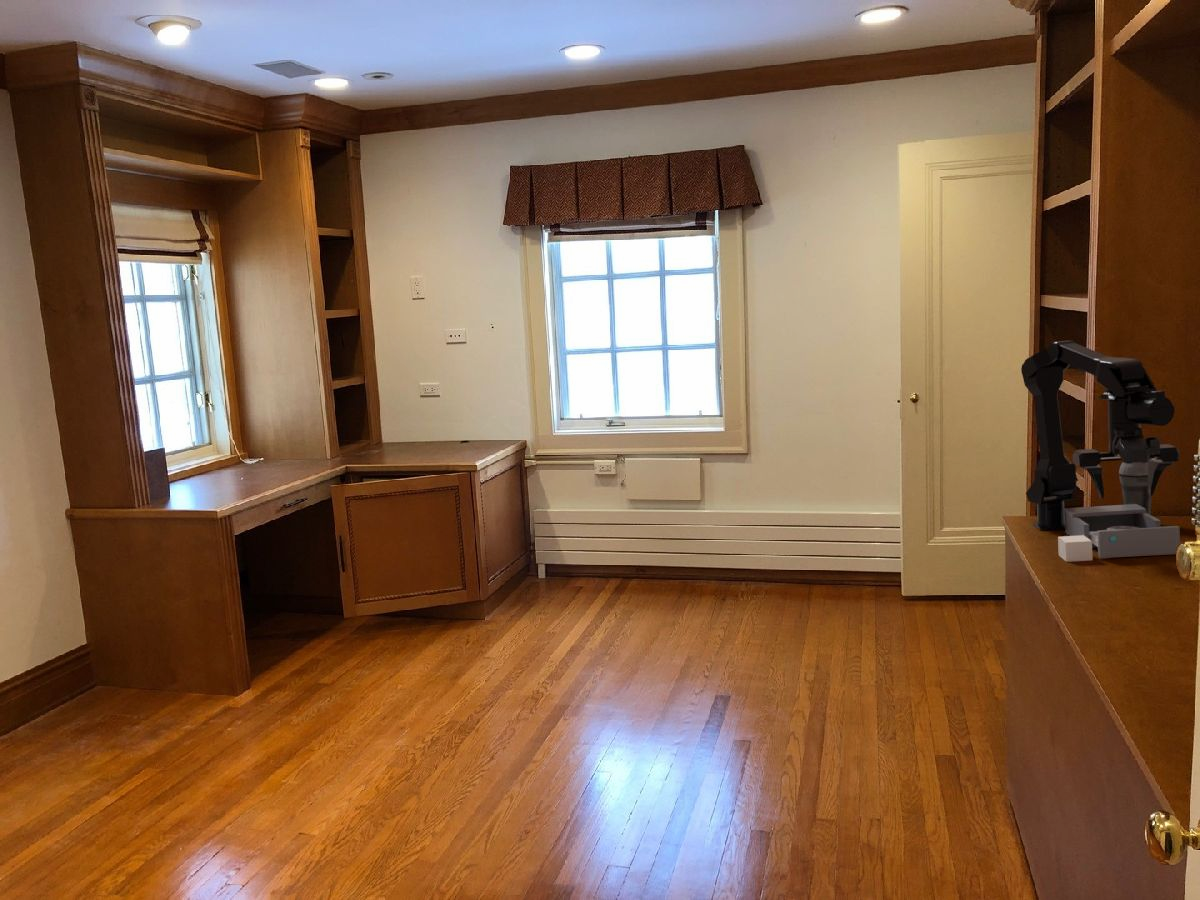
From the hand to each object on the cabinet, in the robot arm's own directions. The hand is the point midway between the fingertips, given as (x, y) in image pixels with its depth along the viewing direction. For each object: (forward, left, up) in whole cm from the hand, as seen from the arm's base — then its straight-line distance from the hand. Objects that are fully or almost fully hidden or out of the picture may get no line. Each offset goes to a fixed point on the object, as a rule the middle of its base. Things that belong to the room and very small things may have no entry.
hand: (1126, 496), depth 202 cm
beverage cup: (-21, +9, -11) cm, 25 cm away
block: (+4, -12, -11) cm, 17 cm away
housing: (-9, 0, -11) cm, 14 cm away
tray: (0, 0, -11) cm, 11 cm away
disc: (-1, 0, -9) cm, 9 cm away
